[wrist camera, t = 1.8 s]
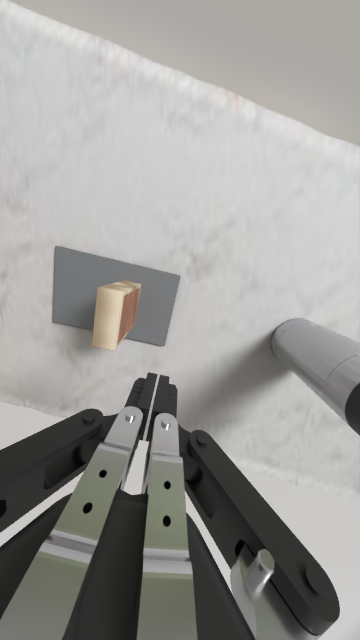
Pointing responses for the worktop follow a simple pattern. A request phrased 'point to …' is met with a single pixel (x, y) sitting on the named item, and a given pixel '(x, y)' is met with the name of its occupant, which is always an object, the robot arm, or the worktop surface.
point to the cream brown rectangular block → (115, 313)
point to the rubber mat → (94, 271)
